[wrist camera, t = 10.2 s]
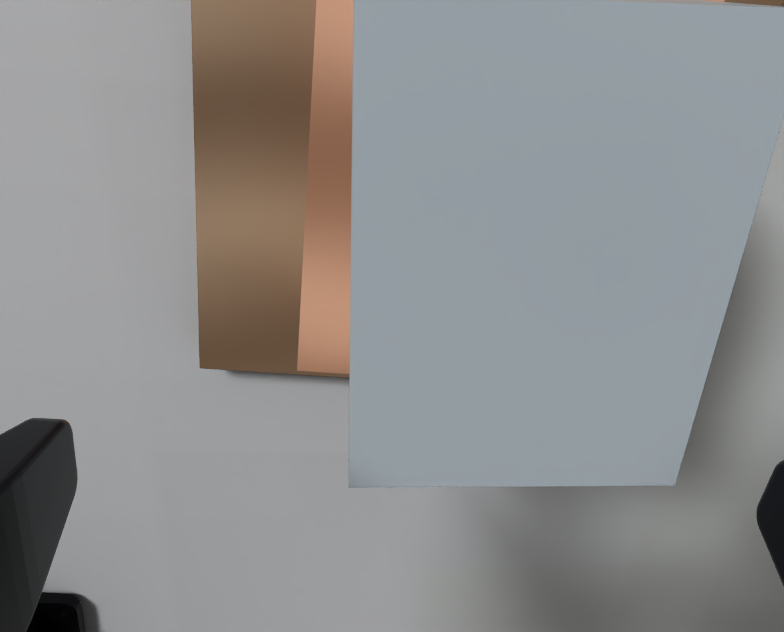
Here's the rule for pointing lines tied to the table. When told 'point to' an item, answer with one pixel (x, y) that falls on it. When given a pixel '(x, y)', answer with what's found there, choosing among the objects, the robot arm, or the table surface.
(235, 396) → the table surface
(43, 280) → the table surface
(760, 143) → the grey brick
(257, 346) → the tower base
